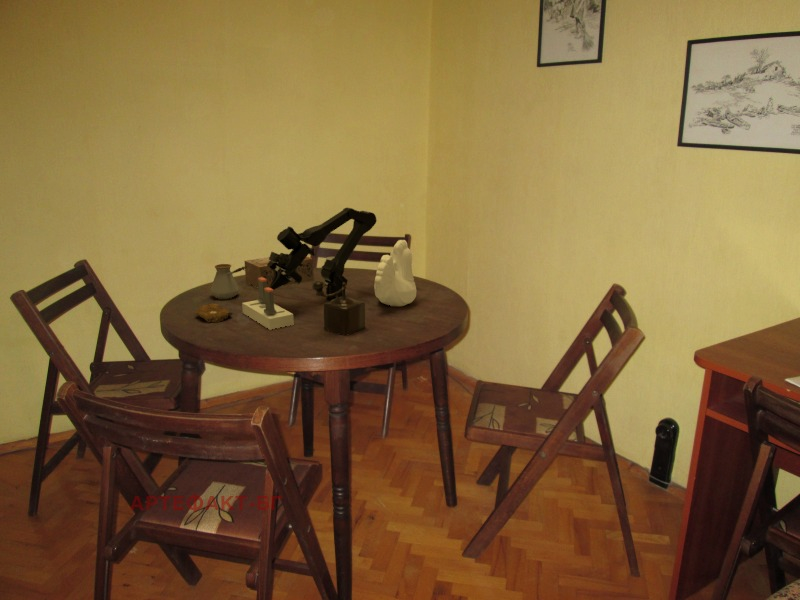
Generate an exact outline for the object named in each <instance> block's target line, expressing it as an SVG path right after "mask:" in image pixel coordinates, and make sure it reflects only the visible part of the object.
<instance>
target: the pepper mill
mask: <svg viewBox="0 0 800 600" xmlns="http://www.w3.org/2000/svg"><path fill="white" fill-rule="evenodd" d="M342 285H343V286H342V288H341V289H340V290H339V291H337V292H335V293H333V294H329V295H326V293H325V292H324V288H325V282H324V281H321V280H316V281H315V282H313V283H312V286H311V287H312V289H313V290H314V291H315V295H316V296H317V297H324V298H327V297H332V296H335V295H336V299H333V300H331V301H330V300H329V301H327V302H325V303H323V329H324V330H326V331H328V330H329V332H331V331H332V332H331V333H334V332H336V333H335V334H338V333H339V334H338V335H342V334H344V335H343V336H348V335H347V334H349V335H351V334H353V332H354V333H356V332H358V330H359V331H361V330H362V329H365V328H366V307H365V306H366V302H364V301H361V300H357V299H354V298H350V297H348V296H347V295H346V289H347V285H346V283H345V282H343V283H342ZM342 291H343V296H341V297H338V295H337V294H339V293H340V292H342ZM360 329H361V330H360ZM355 331H356V332H355ZM350 333H351V334H350Z"/></svg>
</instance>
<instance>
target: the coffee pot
mask: <svg viewBox="0 0 800 600" xmlns="http://www.w3.org/2000/svg"><path fill="white" fill-rule="evenodd" d="M231 267H232V264H231V263H230V264H228V263H219V264H216V265H214V268H215V270H216V273H215V276H214V277H213V281H212V284H211V288H210V290H209V291H210V292H209V293H210V294H211V295H212V296H213V297H215V299H217V298H218V300H230V299H233V298H232V297H234V296H235V297H236V295H239V292H240V291H241V290H240V286H239V285H238V283H237V281H236V279H235V276H233V274H236V273H239V272H241V271H244V272H245V268H247V266H245V265H244V266H241V267H239V268H236V269H235V270H233V271H231ZM248 271H249V270H248ZM235 297H234V298H235ZM229 298H230V299H229Z"/></svg>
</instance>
